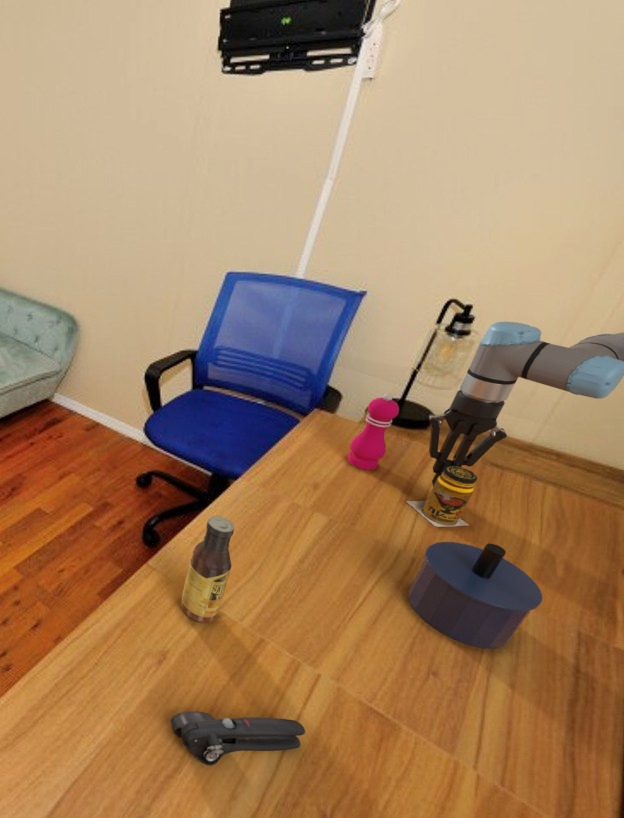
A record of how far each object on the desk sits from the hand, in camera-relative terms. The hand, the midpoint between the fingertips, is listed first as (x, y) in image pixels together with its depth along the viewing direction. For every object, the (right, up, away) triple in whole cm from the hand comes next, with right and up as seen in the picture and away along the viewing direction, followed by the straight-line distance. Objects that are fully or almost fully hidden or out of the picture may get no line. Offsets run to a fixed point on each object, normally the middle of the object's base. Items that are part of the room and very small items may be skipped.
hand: (436, 485), depth 116 cm
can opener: (-69, -28, -46) cm, 88 cm away
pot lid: (-21, -9, -32) cm, 40 cm away
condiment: (-4, -6, -4) cm, 8 cm away
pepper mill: (-8, +3, +13) cm, 15 cm away
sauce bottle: (-66, -18, -26) cm, 73 cm away
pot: (-21, -18, -27) cm, 39 cm away
